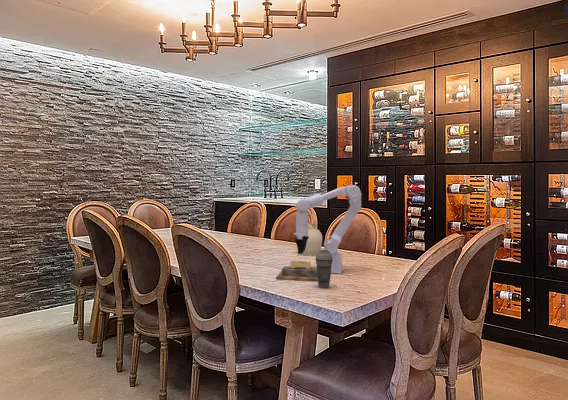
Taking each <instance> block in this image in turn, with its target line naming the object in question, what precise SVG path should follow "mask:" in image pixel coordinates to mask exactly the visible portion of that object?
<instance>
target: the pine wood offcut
mask: <svg viewBox="0 0 568 400" xmlns="http://www.w3.org/2000/svg"><path fill="white" fill-rule="evenodd" d="M289 264H290V269H296V267H306V270H311V267H312V263H311V261H305V260H304V261H301V260H291V261H290V263H289Z"/></svg>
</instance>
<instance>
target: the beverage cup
mask: <svg viewBox="0 0 568 400" xmlns="http://www.w3.org/2000/svg"><path fill="white" fill-rule="evenodd" d="M327 239H328V238H326V239H325V241H326V245H325V248H324V249H321V250H320V251H319V252H318V253H317V255H315V259H314V260H315V265H316V268H317V278H318V281H317V285H318V286H317V287H318V288H320V289H329V288H330V284H331V283H330V282H331V274H332V273H331V265H332V260H333V259H332V254H331V253H330V252H329V251H328V250H326V247H327ZM328 287H329V288H328Z"/></svg>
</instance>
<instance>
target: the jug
mask: <svg viewBox="0 0 568 400" xmlns="http://www.w3.org/2000/svg"><path fill="white" fill-rule="evenodd" d="M307 215H308V217H309V216H311V217H312V222H311V223H310V222H308V235H307V236H309V238H308V240H307V243H306V248H305V251H303V254H301V253H299V254H300V255H301V256H310V255H311V256H316V255H317V253H318V252H319V251H320V250H322V245H323V235H322V232H321V231H320V229H318V228H317V226H318V225H317V224H316V221H317V217H316V215H315V214H314V213H312V212H309V213H308V212H307ZM297 237H298V236H297V235H296V238H297ZM297 239H298V238H297Z"/></svg>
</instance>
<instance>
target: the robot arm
mask: <svg viewBox="0 0 568 400" xmlns="http://www.w3.org/2000/svg"><path fill="white" fill-rule="evenodd" d="M337 197H346V198H347V199H348V203H349V207H348V209H347V211H346V212H345V214H344V215H343V217H342V218H341V220H340V221H339V222H338V225H337V226H336V228H335V230H334V231H333V232H332V234H331V235H330V236H329V237H328V238H326V239H327V247H326V250H328V251H329V252H330V253H331V254H332V259H333V260H332V265H331V274H342V273H343V253H339V252H338V250H339V246H340V244H341V242H342V239H343V237H344V235H345V234H346V232H347V231H348V229H349V227H350V226H351V225H352V223H353V222H354V219H355V218H356V216H357V215H358V213H359V212H360V210H361V208H362V191H361V189H360V188H359V186H357V185H356V184H355V185H354V184H349V185H347V186H346V185H345V186H341V187H337V188H335V189H333V190H331V191H328V192H326V193H324V194H321V193H315V192H314V193H313V194H312V195H310V196H308V197H306V196H305V197H303V198H304V199H300V200H298V201H297V202H296V206H295V207H296V217H295V220H296V222H295V232H294V233H293V236H296V238H294V242H295V245H296V247H297V252H298V254H300V253H301V254H303V251H305V248H306V243H307V240H308V238H309V236H307V235H308V223H309V222H308V221H309V216H308V215H307V214H308V210H311V209H314V208H316V207H319V206H322V205H323V204H324V202H325V201H328V200H331V199H333V198H337ZM297 236H298V237H297ZM297 238H298V239H297ZM325 245H326V240H325V241H324V242H323V248H324V249H325ZM301 254H300V255H301Z"/></svg>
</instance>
